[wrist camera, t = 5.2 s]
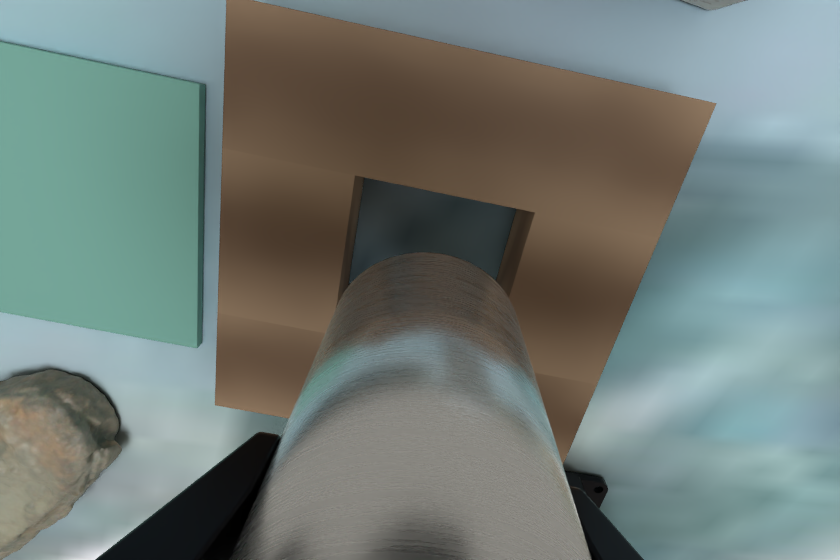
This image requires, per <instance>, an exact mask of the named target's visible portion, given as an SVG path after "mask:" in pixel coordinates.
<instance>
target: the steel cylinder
mask: <svg viewBox="0 0 840 560" xmlns="http://www.w3.org/2000/svg"><path fill="white" fill-rule="evenodd" d="M229 560H592V558H591V555H590V552H589V549H588V546H587V542H586V539H585V536H584V533H583V529H582V526H581V523H580V520H579V516H578V513H577V510H576V507H575V504H574V500H573V497H572V494H571V491H570V487H569V484H568V481H567V478H566V474H565V471H564V468H563V465H562V462H561V458H560V455H559V452H558V449H557V445H556V442H555V439H554V436H553V432H552V429H551V426H550V423H549V419H548V416H547V413H546V410H545V407H544V403H543V400H542V397H541V394H540V390H539V387H538V384H537V381H536V377H535V374H534V371H533V368H532V365H531V361H530V358H529V355H528V352H527V348H526V345H525V342H524V339H523V335H522V332H521V329H520V326H519V323H518V319H517V316H516V313H515V310H514V308H513V305H512V303H511V301H510V299H509V297H508V296H507V294H506V293H505V291H504V290H503V289H502V287H501V286H500V285H499V284H498V283H497V282H496V281H495V280H494V279H493V278H492V277H491V276H490V275H489V274H487V273H486V272H485V271H483V270H482V269H480V268H479V267H477V266H475V265H473V264H471V263H470V262H467V261H465V260H462V259H460V258H457V257H453V256H449V255H445V254H439V253H431V252H417V253H409V254H402V255H398V256H394V257H391V258H388V259H386V260H383V261H381V262H379V263H377V264H375V265H373V266H371V267H369V268H368V269H367V270H365V271H364V272H363V273H361V274H360V275H359V276H358V277H357V278H356V279H355V280H354V281H353V282H351V284H350V285H349V286H348V288H347V289H346V290H345V291H344V293H343V295H342V297H341V298H340V300H339V302H338V305H337V307H336V309H335V312H334V314H333V316H332V319H331V321H330V323H329V326H328V328H327V331H326V333H325V335H324V338H323V340H322V342H321V345H320V347H319V349H318V352H317V354H316V356H315V359H314V361H313V364H312V366H311V368H310V371H309V373H308V375H307V378H306V380H305V382H304V385H303V387H302V389H301V392H300V394H299V397H298V399H297V401H296V404H295V406H294V408H293V411H292V413H291V415H290V418H289V420H288V422H287V425H286V427H285V430H284V432H283V434H282V437H281V439H280V441H279V444H278V446H277V448H276V451H275V453H274V456H273V458H272V460H271V463H270V465H269V467H268V470H267V472H266V474H265V477H264V479H263V481H262V484H261V486H260V489H259V491H258V493H257V496H256V498H255V500H254V503H253V505H252V507H251V510H250V512H249V514H248V517H247V519H246V522H245V524H244V526H243V529H242V531H241V533H240V536H239V538H238V540H237V543H236V545H235V547H234V550H233V552H232V555H231V557H230V559H229Z"/></svg>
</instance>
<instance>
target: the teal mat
mask: <svg viewBox="0 0 840 560" xmlns="http://www.w3.org/2000/svg"><path fill="white" fill-rule="evenodd" d="M204 147H205V84H201V83H196V82H191V81H187V80H182V79H177V78H172V77H168V76H163V75H158V74H153V73H149V72H144V71H139V70H135V69H130V68H125V67H120V66H116V65H111V64H106V63H102V62H97V61H92V60H87V59H83V58H78V57H73V56H69V55H64V54H59V53H54V52H50V51H45V50H40V49H36V48H31V47H26V46H21V45H17V44H12V43H7V42H3V41H0V312H3V313H8V314H14V315H19V316H25V317H30V318H35V319H41V320H46V321H52V322H57V323H63V324H68V325H73V326H79V327H84V328H90V329H95V330H101V331H106V332H111V333H117V334H122V335H128V336H133V337H138V338H144V339H149V340H155V341H160V342H166V343H171V344H176V345H182V346H187V347H193V348H198V347H199V346H200V344H201V343H202V295H203V221H204Z"/></svg>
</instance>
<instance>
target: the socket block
mask: <svg viewBox="0 0 840 560" xmlns="http://www.w3.org/2000/svg"><path fill="white" fill-rule="evenodd" d="M715 105H716V103H712V102H708V101H703V100H699V99H694V98H690V97H685V96H681V95H676V94H672V93H667V92H663V91H658V90H654V89H649V88H645V87H640V86H636V85H631V84H627V83H622V82H618V81H613V80H609V79H604V78H600V77H595V76H591V75H586V74H582V73H577V72H573V71H568V70H564V69H559V68H555V67H550V66H546V65H541V64H537V63H532V62H528V61H523V60H519V59H514V58H510V57H505V56H501V55H496V54H492V53H487V52H483V51H478V50H474V49H469V48H465V47H460V46H456V45H451V44H447V43H442V42H438V41H433V40H429V39H424V38H420V37H415V36H411V35H406V34H402V33H397V32H393V31H388V30H384V29H379V28H375V27H370V26H365V25H361V24H356V23H352V22H347V21H343V20H338V19H334V18H329V17H325V16H320V15H316V14H311V13H307V12H302V11H298V10H293V9H289V8H284V7H280V6H275V5H271V4H266V3H262V2H257V1H253V0H226V35H225V70H224V106H223V141H222V176H221V212H220V247H219V282H218V318H217V353H216V388H215V405H217V406H223V407H229V408H234V409H240V410H245V411H251V412H256V413H262V414H268V415H273V416H279V417H284V418H290V415H291V413H292V411H293V408H294V406H295V404H296V401H297V399H298V397H299V394H300V392H301V389H302V387H303V385H304V382H305V380H306V378H307V375H308V373H309V371H310V368H311V366H312V364H313V361H314V359H315V356H316V354H317V352H318V349H319V347H320V345H321V342H322V340H323V338H324V335H325V333H326V331H327V328H328V326H329V323H330V321H331V319H332V316H333V314H334V312H335V309H336V307H337V305H338V302H339V300H340V298H341V297H342V295H343V293H344V291H345V290H346V289H347V288H348V283H349V276H350V270H351V263H352V256H353V250H354V243H355V236H356V230H357V223H358V216H359V210H360V203H361V197H362V190H363V183H364V177H365V178H370V179H375V180H380V181H384V182H389V183H394V184H399V185H404V186H409V187H414V188H418V189H423V190H428V191H433V192H438V193H443V194H448V195H452V196H457V197H462V198H467V199H472V200H477V201H482V202H486V203H491V204H496V205H501V206H506V207H511V208H516V209H517V210H516V213H515V216H514V220H513V223H512V227H511V230H510V234H509V237H508V241H507V244H506V248H505V251H504V255H503V258H502V262H501V265H500V268H499V272H498V275H497V279H496V282H497V283H498V284H499V285H500V286H501V287H502V289H503V290H504V291H505V293H506V294H507V296H508V297H509V299H510V301H511V303H512V305H513V308H514V310H515V313H516V316H517V319H518V323H519V326H520V329H521V332H522V335H523V339H524V342H525V345H526V348H527V352H528V355H529V358H530V361H531V365H532V368H533V371H534V374H535V377H536V381H537V384H538V387H539V390H540V394H541V397H542V400H543V403H544V407H545V410H546V413H547V416H548V419H549V423H550V426H551V429H552V432H553V436H554V439H555V442H556V445H557V449H558V452H559V455H560V458H561V462H562V465H563V463H564V461H565V459H566V456H567V454H568V452H569V449H570V447H571V445H572V442H573V440H574V438H575V435H576V433H577V430H578V428H579V426H580V423H581V421H582V419H583V416H584V414H585V412H586V409H587V407H588V405H589V402H590V400H591V398H592V395H593V393H594V390H595V388H596V386H597V383H598V381H599V379H600V376H601V374H602V372H603V369H604V367H605V365H606V362H607V360H608V357H609V355H610V353H611V350H612V348H613V346H614V343H615V341H616V339H617V336H618V334H619V332H620V329H621V327H622V325H623V322H624V320H625V317H626V315H627V313H628V310H629V308H630V306H631V303H632V301H633V299H634V296H635V294H636V292H637V289H638V287H639V284H640V282H641V280H642V277H643V275H644V273H645V270H646V268H647V266H648V263H649V261H650V259H651V256H652V254H653V251H654V249H655V247H656V244H657V242H658V240H659V237H660V235H661V233H662V230H663V228H664V226H665V223H666V221H667V219H668V216H669V214H670V211H671V209H672V207H673V204H674V202H675V200H676V197H677V195H678V193H679V190H680V188H681V186H682V183H683V181H684V178H685V176H686V174H687V171H688V169H689V167H690V164H691V162H692V160H693V157H694V155H695V153H696V150H697V148H698V146H699V143H700V141H701V138H702V136H703V134H704V131H705V129H706V127H707V124H708V122H709V120H710V117H711V115H712V113H713V110H714V108H715Z"/></svg>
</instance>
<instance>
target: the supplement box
mask: <svg viewBox="0 0 840 560" xmlns="http://www.w3.org/2000/svg"><path fill="white" fill-rule="evenodd" d="M682 1H685V2H688V3H691V4H693V5H696V6H699V7H701V8H704V9H707V10H716V9H720V8H723V7H726V6H729V5H732V4H735V3H739V2H742V1H746V0H682Z"/></svg>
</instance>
